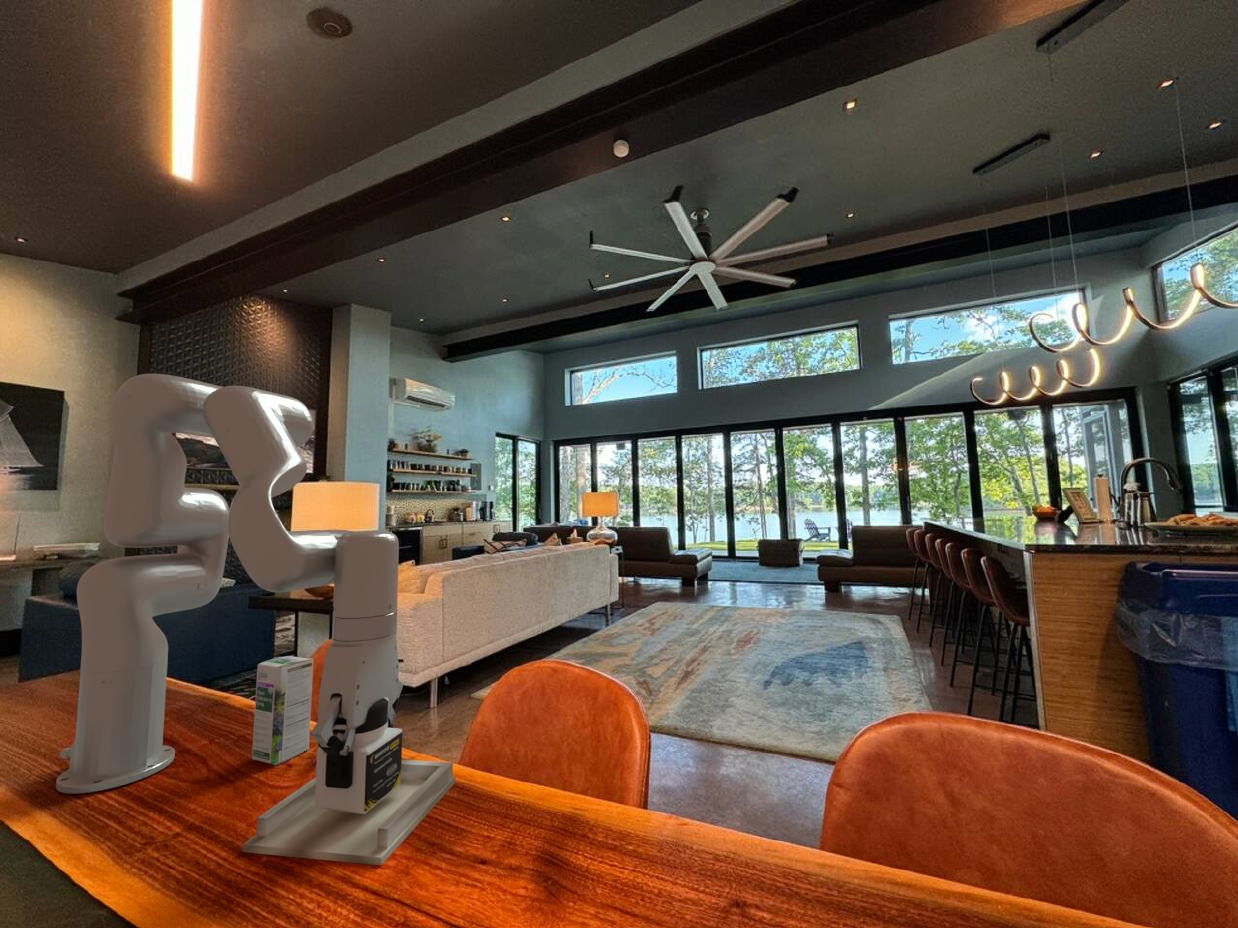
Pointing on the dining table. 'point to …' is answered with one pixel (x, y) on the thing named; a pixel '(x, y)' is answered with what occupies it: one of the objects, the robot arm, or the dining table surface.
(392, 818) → the bottle stand
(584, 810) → the dining table surface
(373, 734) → the medicine bottle
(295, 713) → the syrup box
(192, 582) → the robot arm
